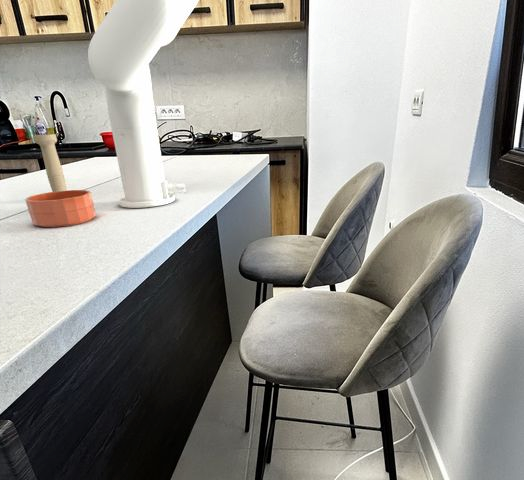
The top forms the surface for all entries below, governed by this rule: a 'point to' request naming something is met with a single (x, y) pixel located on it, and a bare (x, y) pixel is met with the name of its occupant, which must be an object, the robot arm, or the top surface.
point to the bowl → (61, 208)
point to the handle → (51, 161)
